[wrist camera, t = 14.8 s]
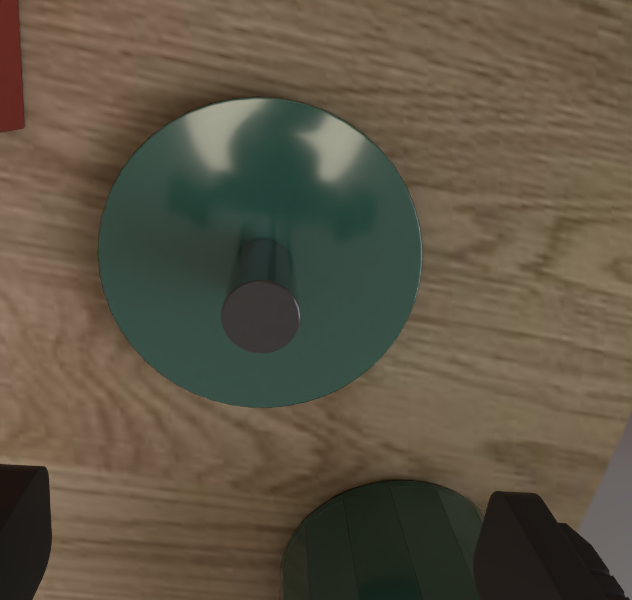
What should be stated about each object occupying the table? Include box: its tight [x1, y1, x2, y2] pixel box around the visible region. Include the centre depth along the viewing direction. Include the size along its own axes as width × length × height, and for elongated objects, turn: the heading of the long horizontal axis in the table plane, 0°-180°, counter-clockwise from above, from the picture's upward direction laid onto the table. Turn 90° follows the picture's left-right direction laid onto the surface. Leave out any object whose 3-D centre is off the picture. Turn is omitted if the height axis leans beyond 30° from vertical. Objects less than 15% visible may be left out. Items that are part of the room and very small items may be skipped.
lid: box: [98, 97, 422, 408], centre depth 20 cm, size 12×12×6 cm
